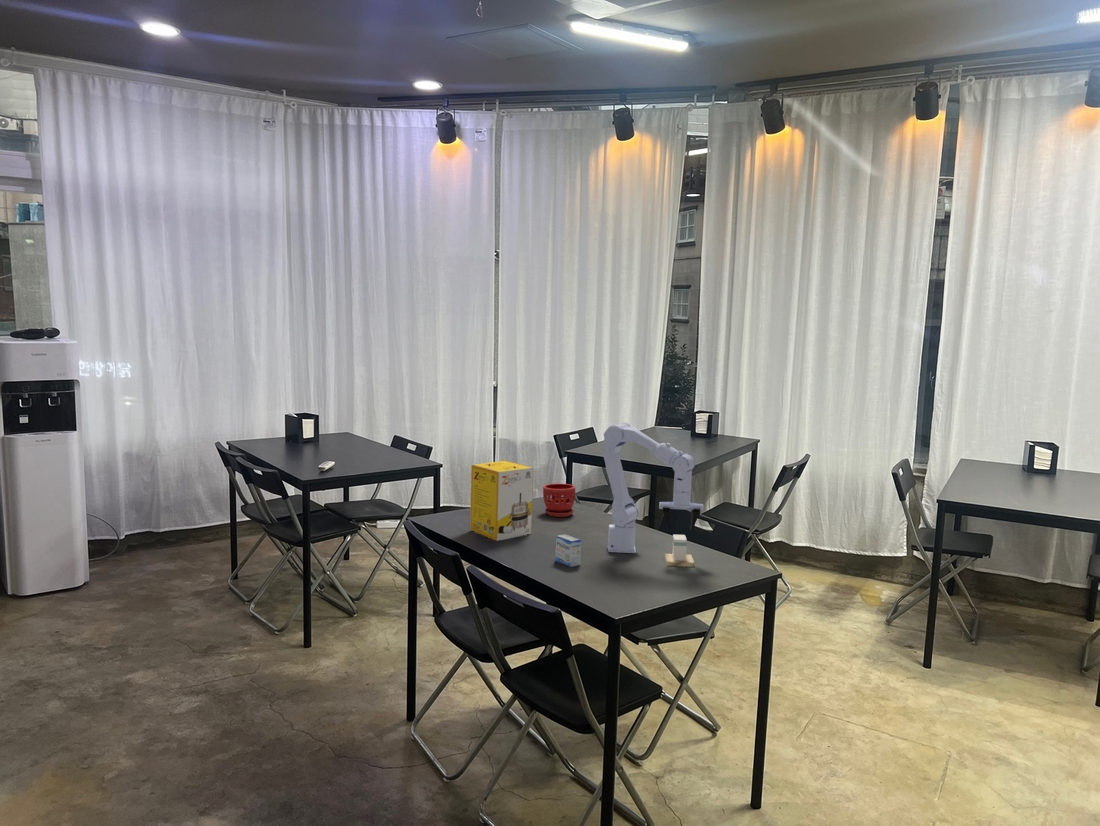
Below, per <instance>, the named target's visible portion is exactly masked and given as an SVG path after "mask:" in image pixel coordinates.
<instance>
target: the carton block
mask: <svg viewBox="0 0 1100 826" xmlns="http://www.w3.org/2000/svg"><path fill="white" fill-rule="evenodd" d="M687 548H688V540H687V537H686V535H685V534H672V550H671V551H672V552H671V554H672V556H673V559H674V560H679V561H686V554H687Z"/></svg>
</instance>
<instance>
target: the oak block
mask: <svg viewBox="0 0 1100 826" xmlns="http://www.w3.org/2000/svg"><path fill="white" fill-rule="evenodd" d="M663 559H664V561H665V564H666V566H668V567H686V566H687V567H690V568H695V561H694V558H693V556H692V554H687V553H686V561H679V560H674V559H673V556H672V553H664V555H663ZM687 567H686V568H687Z"/></svg>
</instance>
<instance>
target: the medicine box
mask: <svg viewBox="0 0 1100 826" xmlns="http://www.w3.org/2000/svg"><path fill="white" fill-rule="evenodd" d="M554 552H555V553H554V554H555V557H554V561H555V562H556V563H559V564H562V565H564V566H567V567H570V568H573V567H577V566H580V565H581V555H582V554H581V553H582V539H579V538H576V537H575V536H571V535H568V534H565V533H564V534H559V535H556V537H555V551H554Z"/></svg>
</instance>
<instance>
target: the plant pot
mask: <svg viewBox="0 0 1100 826" xmlns="http://www.w3.org/2000/svg"><path fill="white" fill-rule="evenodd" d="M542 496H543V502H544V505H545V507H546V508H545V509H544V512H545V513H546V515H548V516H549V517H556V518H558V517H559V518H564V517H570V516H571V515H573V513H574V511H575V510H574V509H573V506H574V503H575V498H576V486H575V485H573V484H568V483H550V484H545V485H543V487H542Z"/></svg>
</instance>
